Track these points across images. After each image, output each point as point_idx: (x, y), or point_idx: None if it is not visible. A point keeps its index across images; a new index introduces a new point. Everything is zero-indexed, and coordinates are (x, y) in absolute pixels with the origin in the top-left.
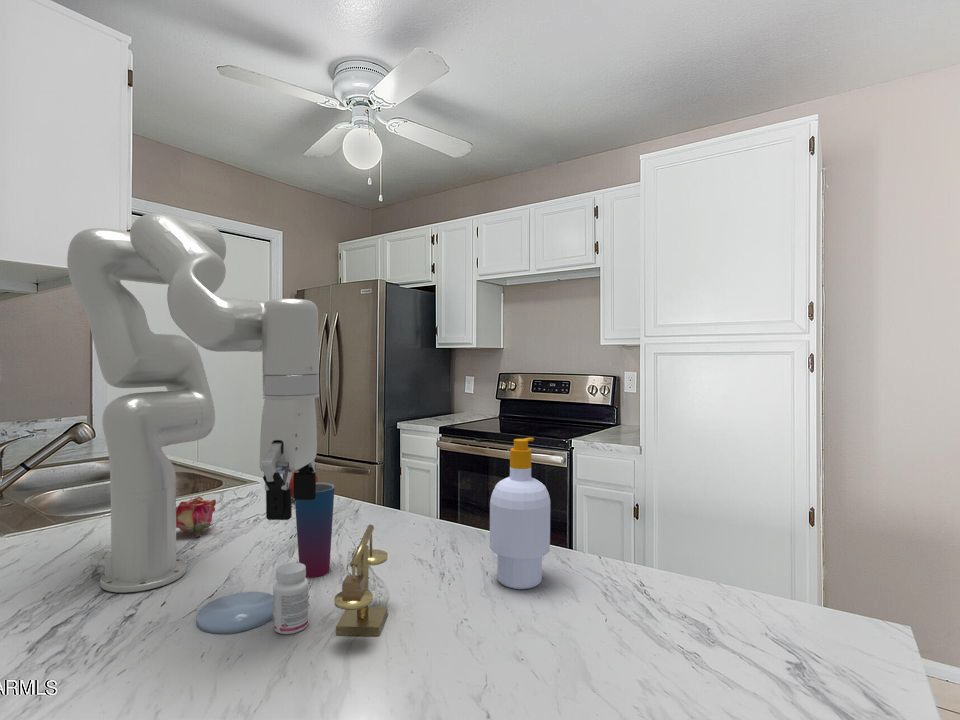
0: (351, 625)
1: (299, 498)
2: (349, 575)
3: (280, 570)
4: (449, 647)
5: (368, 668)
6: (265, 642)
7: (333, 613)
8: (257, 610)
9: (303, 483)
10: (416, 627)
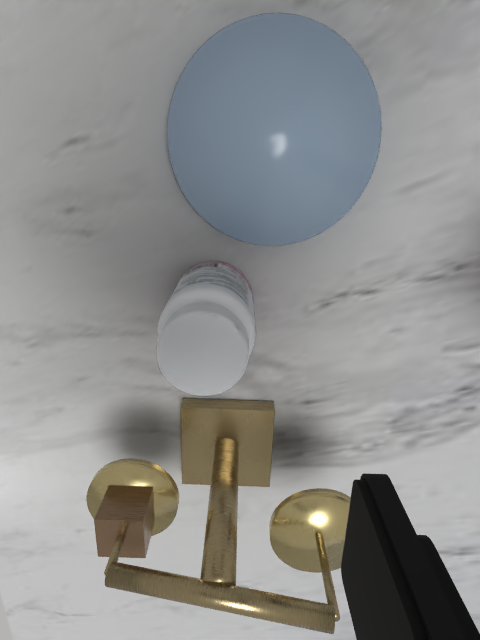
0: (185, 436)
1: (349, 508)
2: (140, 526)
3: (177, 330)
4: None
5: (78, 471)
6: (142, 265)
7: (277, 371)
8: (258, 201)
9: (377, 623)
10: None
